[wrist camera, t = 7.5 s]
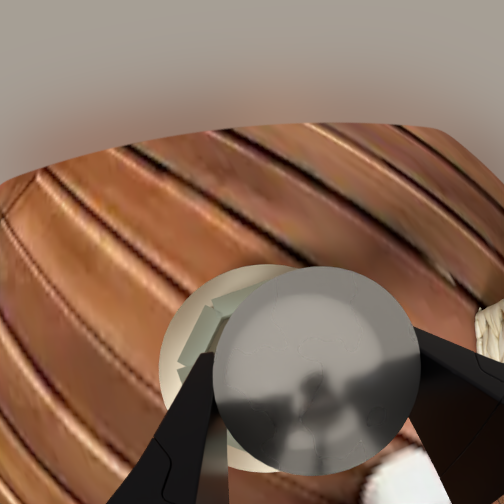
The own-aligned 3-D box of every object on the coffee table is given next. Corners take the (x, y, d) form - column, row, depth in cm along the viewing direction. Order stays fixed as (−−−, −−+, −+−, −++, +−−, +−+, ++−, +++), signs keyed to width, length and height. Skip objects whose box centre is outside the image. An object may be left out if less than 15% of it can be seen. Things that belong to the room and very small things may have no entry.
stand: (380, 318, 22) (408, 306, 18) (312, 480, 17) (329, 503, 13) (219, 249, 24) (216, 222, 19) (139, 409, 19) (117, 417, 14)
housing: (342, 379, 14) (449, 378, 6) (264, 436, 13) (298, 511, 5) (287, 306, 16) (341, 229, 7) (208, 359, 14) (168, 344, 6)
